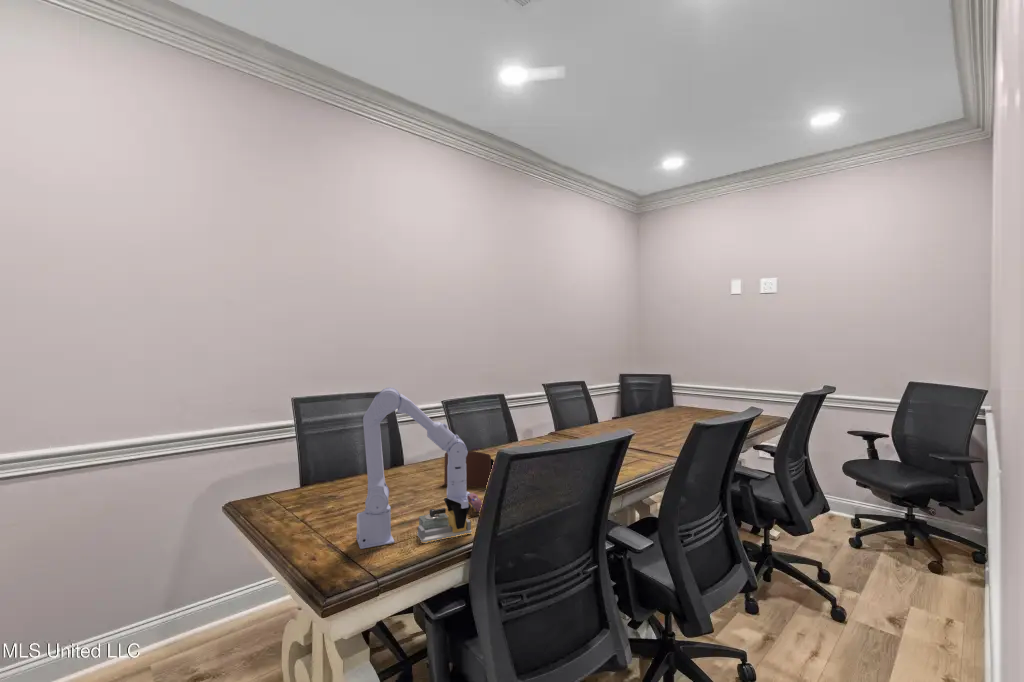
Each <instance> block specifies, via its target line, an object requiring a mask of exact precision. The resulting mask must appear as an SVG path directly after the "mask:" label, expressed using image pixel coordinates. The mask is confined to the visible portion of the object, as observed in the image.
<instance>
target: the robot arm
mask: <svg viewBox="0 0 1024 682" xmlns="http://www.w3.org/2000/svg"><path fill="white" fill-rule="evenodd" d="M396 410H397V413H398V414H405V415H408V416H409V417H410V418H412V420H413V421H415V422H417V424H418V425H420V426H421V427H422V428H424V429H425V430H426V437H427V438H429V440H431V442H433V444H435V445H436V446H438V448H440V450H442V451H445V453H446V452H447V454H448V465H447V485H446V486H447V487H446V497H445V498H444V499H443V501H444V503H445V505H446V507H447V508H446V509H447V512H448V511H453V512H454V516H455V522H456V527H457V529H461V528H464V526H465V521H466V518H467V517H468V515H469V512H470V510H471V507H472V505H471V503H469V502H468V500H467V496H470V494H471V492H469V491H467V487H468V486H467V485H466V456H467V454H468V451H469V450H468V448H467V445H466V444H465V442H464V440H462V438H460V436H459V435H458V434H457V433H456V434H454V432H452V431H451V430H450V429H449V428H448V427H449V426H448V424H446V423H445V422H444V423H442V422H441V421H433V420H432V419H431V417H429V416H428V414H426V413H425V412H424V411H423V410H422V409H421V408H419V406H418V405H416V404H415V403H414V401H413V400H411V399H410V398H408V397H407V396H406V395H404V394H403V393H400V392H399V391H398V390H397V389H396V388H394V387H386V388H383V389H382V390H381V391H380V392H379V393H377V394H376V395H375V396H374V398H373V399H372V402H371V403H370V405H369V406H368V408H367V410H366V411H365V413H364V415H363V418H362V424H363V437H364V449H365V460H366V461H365V462H366V473H367V496H366V499H365V500H364V501H365V502H364V503H365V504H364V505H365V507H364V510H363V511H360V512H357V514H356V541H357V544H358V547H359V549H360V550H364V549H368V548H373V547H378V546H384V545H385V546H386V545H389V544H394V543H395V539H394V538H393V535H392V530H391V529H392V526H391V525H392V522H391V521H392V519H391V518H392V514H391V512H392V510H391V505H390V504H389V497H390V488H389V487H388V485H387V483H386V478H385V470H384V458H383V447H382V446H383V444H382V432H381V422H382V421H383V420H384V419H385V418H386V417H387V415H390V414H391V413H393V412H395V411H396Z"/></svg>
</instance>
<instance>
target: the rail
mask: <svg viewBox="0 0 1024 682" xmlns="http://www.w3.org/2000/svg"><path fill="white" fill-rule="evenodd" d="M471 524H472V523H471V520H470V519H469V518H467V517H466V530H465V531H460V532H454V533H453V532H452V527H451V526H446V527H441V528H435V529H430V530H424V528H423V527H422V526H421V525H420V526H419V525H418V526H417V534H416V536H418V537H419V538H420V540H421V541H422V542H427V541H431V540H437V539H442V538H446V537H451V536H456V535H460V534H464V533H471V532H472V533H473V530H472V529H471V528H472V526H471ZM418 537H417V538H418ZM419 538H418V539H419ZM420 540H419V541H420ZM421 541H420V542H421Z"/></svg>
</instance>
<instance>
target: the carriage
mask: <svg viewBox="0 0 1024 682" xmlns="http://www.w3.org/2000/svg"><path fill="white" fill-rule="evenodd" d="M447 513H448V514H447V516H448V523H449V526H451V527H452V532H453V533H454V532H460V531H465V530H466V521H465V526H464V528H461V529H457V527H456V522H455V516H454V512H453V511H448V510H447Z"/></svg>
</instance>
